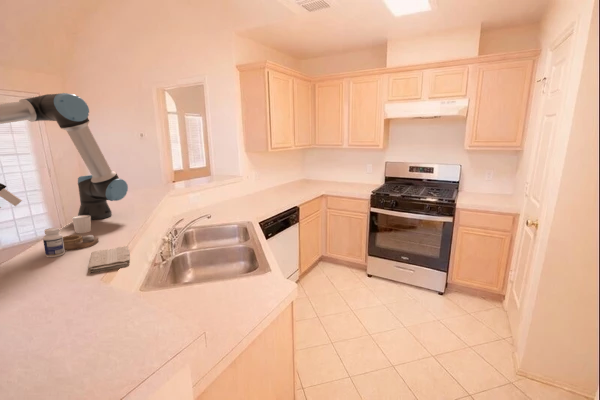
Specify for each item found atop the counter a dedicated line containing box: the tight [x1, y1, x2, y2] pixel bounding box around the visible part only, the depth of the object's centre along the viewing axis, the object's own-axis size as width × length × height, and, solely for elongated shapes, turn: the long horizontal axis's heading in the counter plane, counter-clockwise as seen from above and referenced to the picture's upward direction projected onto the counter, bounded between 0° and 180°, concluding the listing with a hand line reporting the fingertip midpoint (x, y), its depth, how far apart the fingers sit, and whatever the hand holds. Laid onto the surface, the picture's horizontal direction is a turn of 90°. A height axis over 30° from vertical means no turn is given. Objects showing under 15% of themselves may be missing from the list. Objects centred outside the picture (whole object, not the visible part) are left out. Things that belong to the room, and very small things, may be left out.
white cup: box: [71, 215, 92, 234], centre depth 131 cm, size 7×7×7 cm
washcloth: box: [87, 245, 131, 274], centre depth 100 cm, size 12×18×3 cm, turn 33°
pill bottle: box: [42, 227, 66, 258], centre depth 103 cm, size 5×5×10 cm
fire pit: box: [63, 234, 99, 251], centre depth 115 cm, size 14×14×3 cm
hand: (8, 206), depth 99 cm, fingers open, 13 cm apart
